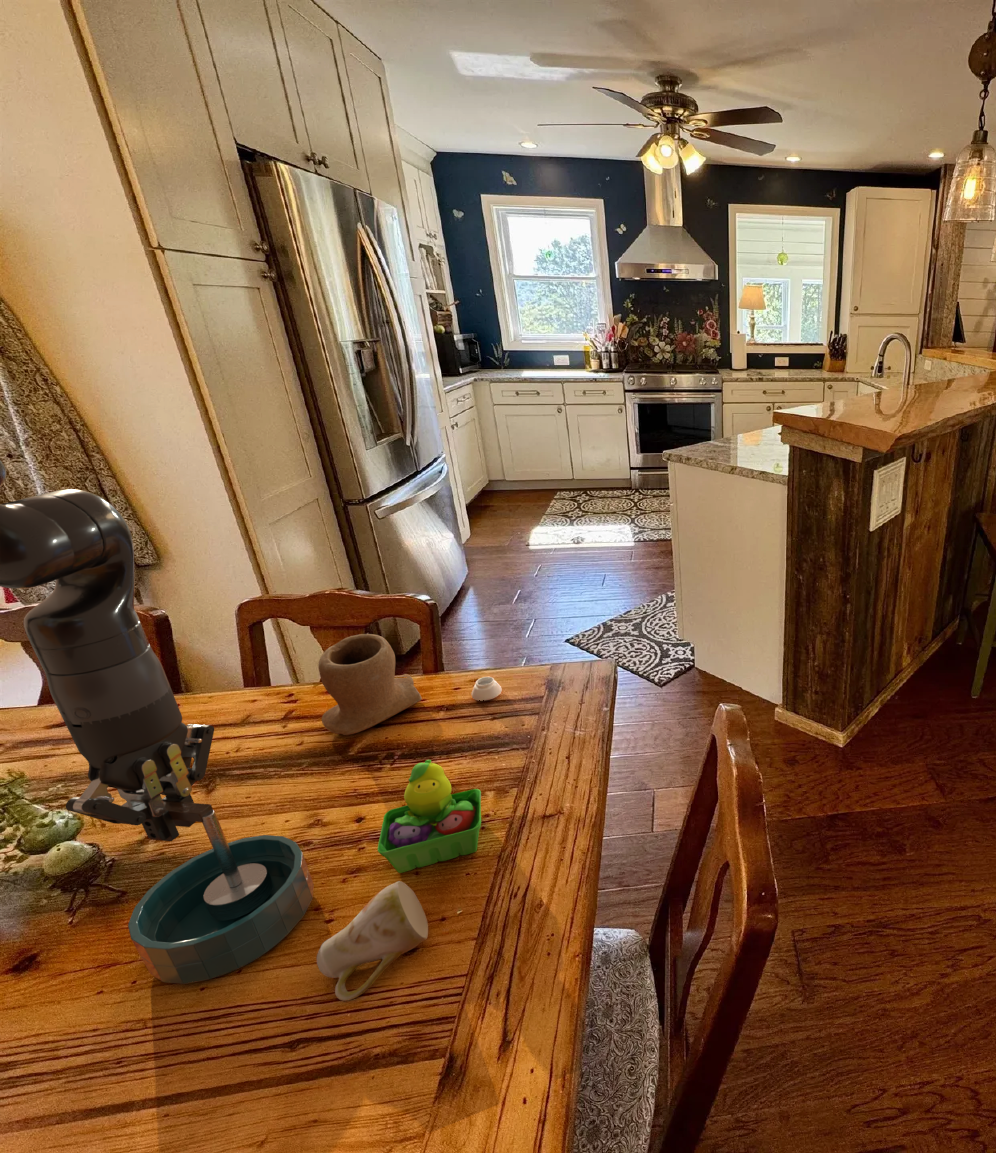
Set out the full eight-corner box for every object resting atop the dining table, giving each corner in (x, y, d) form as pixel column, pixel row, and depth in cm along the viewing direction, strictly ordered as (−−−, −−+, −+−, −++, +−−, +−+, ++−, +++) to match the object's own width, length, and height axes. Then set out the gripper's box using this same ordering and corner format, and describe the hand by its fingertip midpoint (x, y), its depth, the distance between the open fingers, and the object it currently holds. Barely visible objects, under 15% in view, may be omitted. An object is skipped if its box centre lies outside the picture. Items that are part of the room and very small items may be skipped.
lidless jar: (490, 704, 109) (507, 689, 114) (487, 690, 108) (505, 675, 113) (466, 700, 110) (484, 685, 115) (463, 686, 109) (481, 672, 114)
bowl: (110, 982, 63) (86, 941, 60) (233, 867, 76) (218, 830, 74) (242, 995, 62) (224, 954, 60) (343, 876, 75) (331, 839, 73)
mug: (313, 958, 66) (345, 867, 66) (412, 955, 71) (441, 871, 71) (302, 1007, 59) (337, 906, 60) (412, 1001, 64) (444, 908, 65)
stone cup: (349, 751, 97) (325, 669, 91) (315, 724, 103) (290, 646, 97) (441, 706, 108) (425, 631, 103) (406, 684, 114) (389, 612, 109)
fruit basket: (385, 885, 74) (363, 814, 70) (393, 833, 82) (375, 765, 77) (487, 857, 78) (473, 787, 74) (486, 810, 86) (473, 744, 82)
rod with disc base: (285, 880, 72) (252, 792, 67) (243, 922, 67) (205, 831, 62) (191, 871, 73) (152, 783, 68) (143, 912, 68) (97, 821, 63)
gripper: (151, 658, 66) (202, 785, 73) (-6, 736, 54) (73, 881, 60) (216, 663, 66) (262, 790, 72) (73, 743, 53) (145, 887, 60)
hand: (176, 831), depth 66 cm, fingers closed on rod with disc base, 1 cm apart
